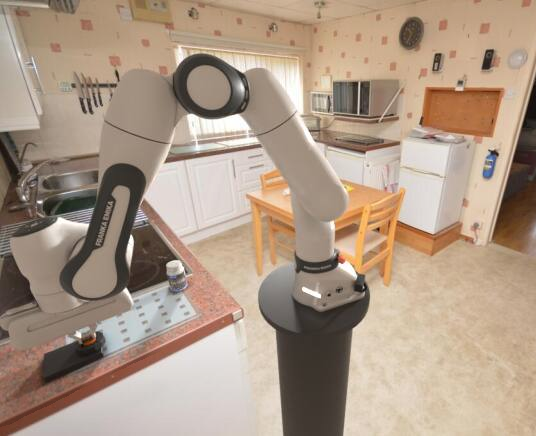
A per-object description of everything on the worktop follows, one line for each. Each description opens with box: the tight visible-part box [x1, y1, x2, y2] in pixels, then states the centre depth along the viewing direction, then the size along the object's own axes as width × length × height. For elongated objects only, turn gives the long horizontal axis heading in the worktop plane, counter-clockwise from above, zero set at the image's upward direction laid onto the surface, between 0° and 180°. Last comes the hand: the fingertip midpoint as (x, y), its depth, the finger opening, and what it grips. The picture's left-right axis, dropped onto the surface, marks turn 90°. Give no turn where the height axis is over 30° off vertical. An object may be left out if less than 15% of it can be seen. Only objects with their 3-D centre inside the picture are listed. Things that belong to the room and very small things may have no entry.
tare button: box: [83, 338, 96, 346], centre depth 67 cm, size 2×2×2 cm
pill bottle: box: [165, 259, 188, 292], centre depth 86 cm, size 5×5×8 cm
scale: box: [42, 330, 107, 383], centre depth 65 cm, size 11×8×3 cm
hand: (88, 339), depth 66 cm, fingers closed, pressing on tare button
